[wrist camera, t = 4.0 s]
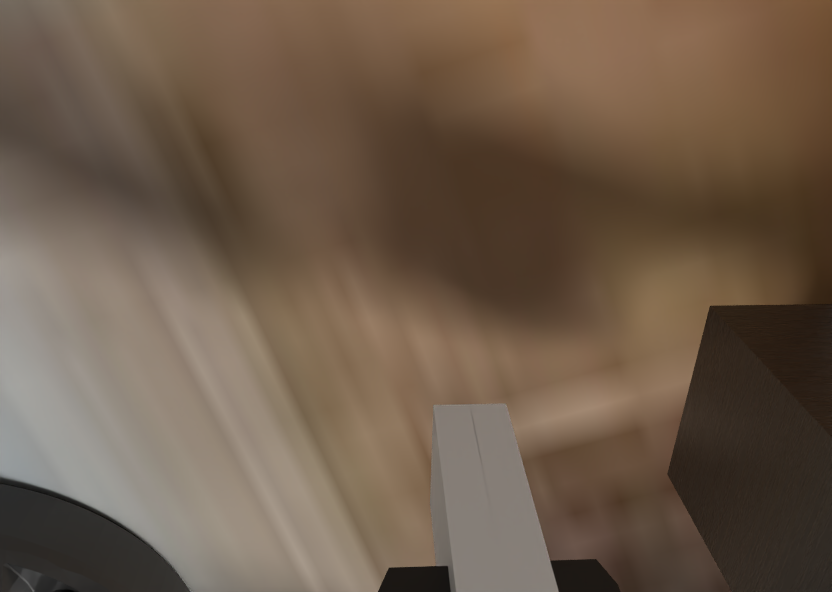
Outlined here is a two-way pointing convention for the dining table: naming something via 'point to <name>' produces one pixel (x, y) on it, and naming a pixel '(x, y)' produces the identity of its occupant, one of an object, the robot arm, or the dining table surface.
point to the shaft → (761, 446)
